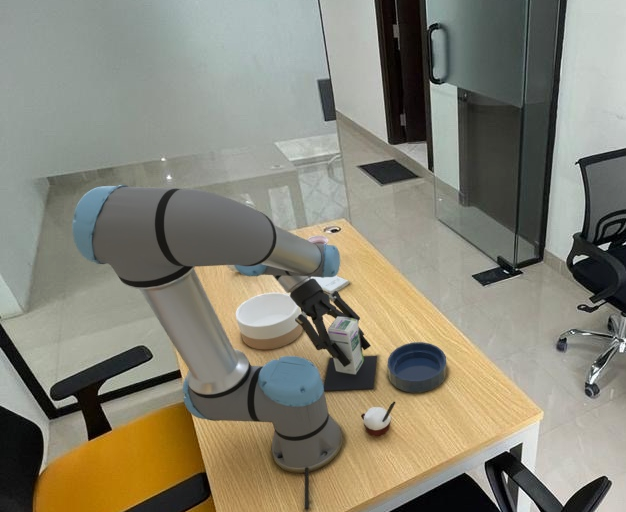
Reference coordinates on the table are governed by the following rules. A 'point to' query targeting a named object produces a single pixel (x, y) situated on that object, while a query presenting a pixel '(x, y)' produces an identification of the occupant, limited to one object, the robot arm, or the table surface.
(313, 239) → the teacup
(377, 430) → the cocoa
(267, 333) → the bowl
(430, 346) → the serving bowl
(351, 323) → the syrup box
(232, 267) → the white egg shape
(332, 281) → the hard drive
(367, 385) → the mat
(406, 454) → the table surface
